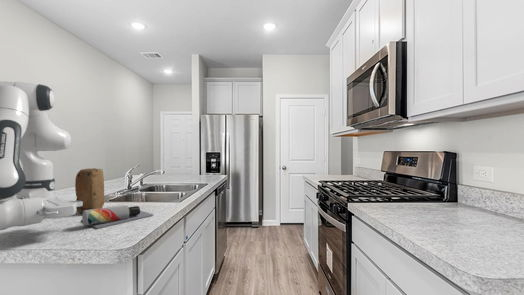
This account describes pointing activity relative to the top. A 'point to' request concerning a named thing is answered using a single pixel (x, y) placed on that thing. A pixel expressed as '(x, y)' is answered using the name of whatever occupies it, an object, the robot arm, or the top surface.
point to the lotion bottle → (108, 214)
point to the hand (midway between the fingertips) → (81, 203)
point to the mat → (130, 218)
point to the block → (90, 189)
